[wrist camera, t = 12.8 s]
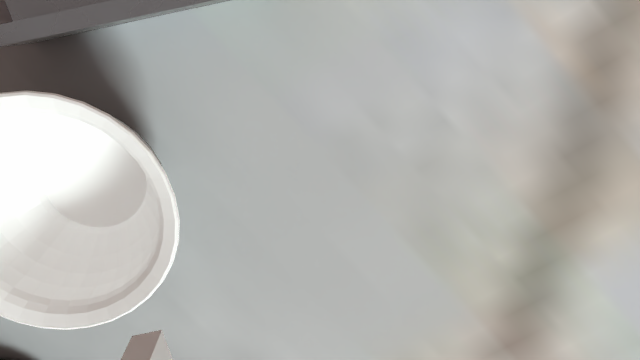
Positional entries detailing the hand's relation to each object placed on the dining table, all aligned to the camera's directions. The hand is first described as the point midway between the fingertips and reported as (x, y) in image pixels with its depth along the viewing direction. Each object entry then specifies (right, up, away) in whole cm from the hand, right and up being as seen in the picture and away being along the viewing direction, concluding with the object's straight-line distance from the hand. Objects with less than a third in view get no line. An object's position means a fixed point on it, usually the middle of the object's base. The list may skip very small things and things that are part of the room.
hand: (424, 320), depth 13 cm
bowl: (-20, +4, +26) cm, 33 cm away
